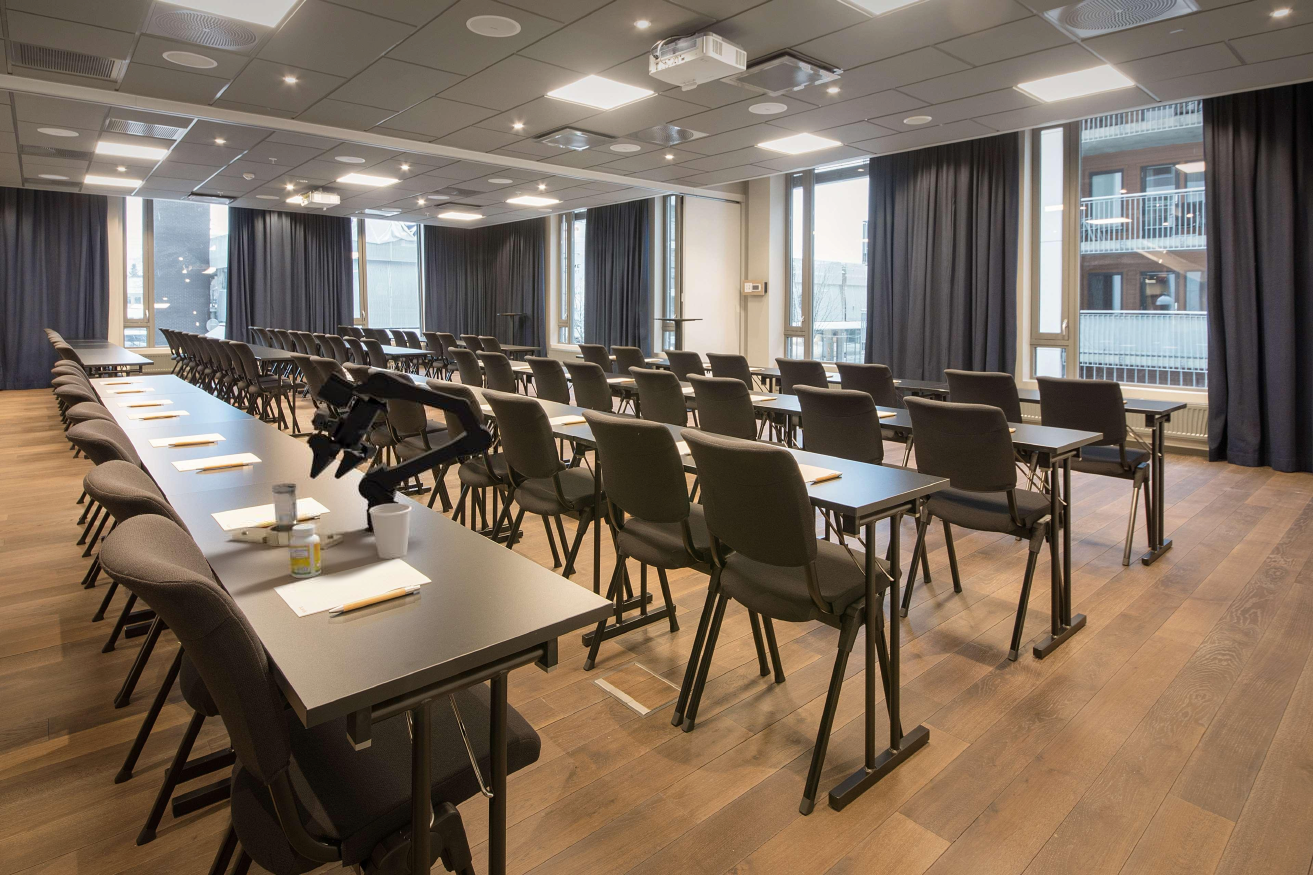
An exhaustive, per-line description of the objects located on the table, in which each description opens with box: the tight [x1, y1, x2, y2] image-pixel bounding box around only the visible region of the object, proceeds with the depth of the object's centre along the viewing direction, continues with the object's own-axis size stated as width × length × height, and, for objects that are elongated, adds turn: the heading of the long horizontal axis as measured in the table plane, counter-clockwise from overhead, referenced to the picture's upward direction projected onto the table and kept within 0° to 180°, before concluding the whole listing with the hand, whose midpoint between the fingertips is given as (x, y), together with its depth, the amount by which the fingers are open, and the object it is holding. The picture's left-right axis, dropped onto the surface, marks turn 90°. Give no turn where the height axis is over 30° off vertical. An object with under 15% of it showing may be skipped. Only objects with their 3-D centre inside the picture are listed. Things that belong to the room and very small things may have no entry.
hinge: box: [232, 521, 344, 550], centre depth 171 cm, size 24×8×3 cm, turn 75°
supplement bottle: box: [289, 523, 322, 579], centre depth 149 cm, size 5×5×10 cm
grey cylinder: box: [271, 482, 299, 532], centre depth 170 cm, size 5×5×12 cm
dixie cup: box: [369, 503, 412, 560], centre depth 161 cm, size 8×8×10 cm
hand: (324, 477), depth 176 cm, fingers open, 9 cm apart
